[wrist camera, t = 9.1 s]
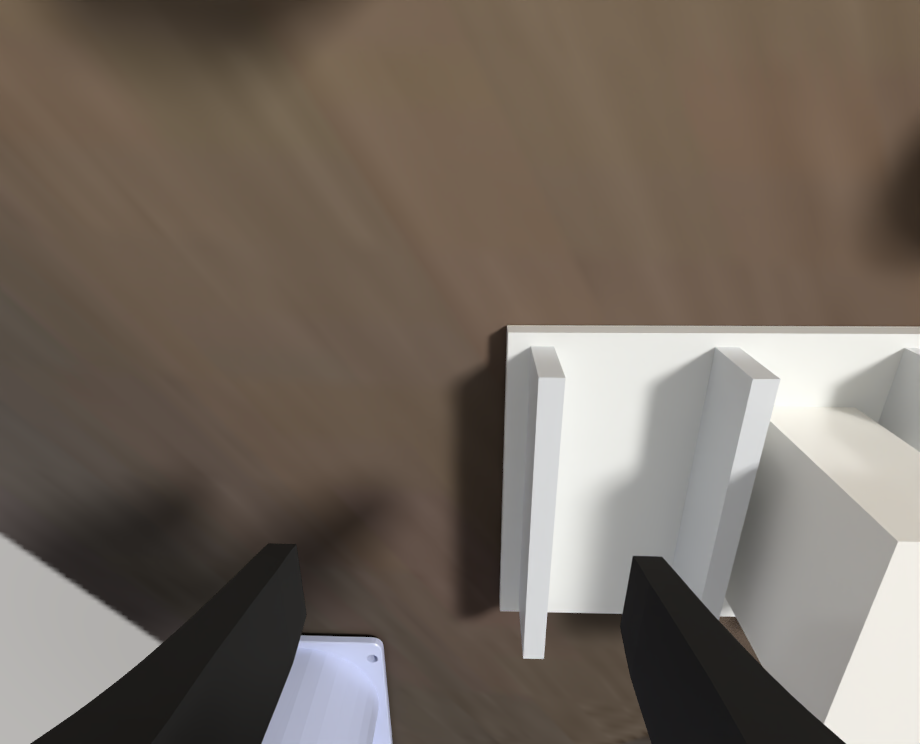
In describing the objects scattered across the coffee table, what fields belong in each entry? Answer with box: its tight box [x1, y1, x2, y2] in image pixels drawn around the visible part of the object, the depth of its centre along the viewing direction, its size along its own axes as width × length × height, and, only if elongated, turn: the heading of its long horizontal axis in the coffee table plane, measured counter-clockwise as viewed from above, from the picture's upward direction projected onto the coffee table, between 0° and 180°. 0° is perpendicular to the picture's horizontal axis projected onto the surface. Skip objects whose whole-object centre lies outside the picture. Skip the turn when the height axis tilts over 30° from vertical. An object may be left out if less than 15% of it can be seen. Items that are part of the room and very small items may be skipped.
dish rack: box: [499, 325, 920, 659], centre depth 19 cm, size 13×15×4 cm
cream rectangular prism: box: [725, 407, 920, 744], centre depth 17 cm, size 4×8×7 cm, turn 1°
